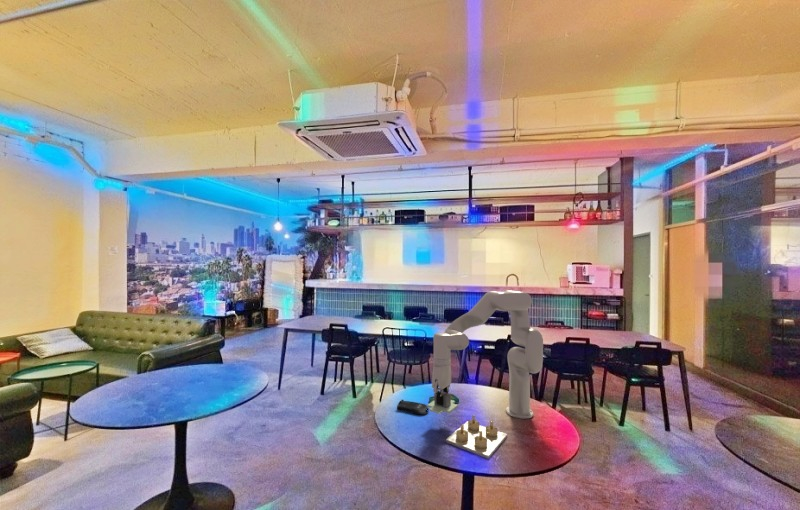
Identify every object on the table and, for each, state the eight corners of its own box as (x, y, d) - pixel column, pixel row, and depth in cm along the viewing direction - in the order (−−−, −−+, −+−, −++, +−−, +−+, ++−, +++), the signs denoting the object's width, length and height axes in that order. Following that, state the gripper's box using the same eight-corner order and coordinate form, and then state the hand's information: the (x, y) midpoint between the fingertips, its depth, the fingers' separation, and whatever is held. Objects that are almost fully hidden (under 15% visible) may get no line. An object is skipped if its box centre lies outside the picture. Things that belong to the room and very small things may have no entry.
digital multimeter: (427, 401, 172) (427, 396, 172) (452, 398, 178) (452, 392, 178) (434, 407, 166) (434, 401, 166) (459, 403, 171) (459, 397, 171)
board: (439, 398, 154) (439, 385, 155) (461, 404, 148) (460, 391, 148) (423, 409, 143) (423, 395, 143) (445, 416, 137) (445, 401, 137)
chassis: (467, 423, 148) (467, 408, 148) (507, 436, 137) (507, 420, 138) (445, 442, 132) (445, 425, 132) (488, 458, 121) (488, 440, 122)
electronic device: (396, 415, 159) (425, 416, 154) (395, 403, 160) (424, 403, 155) (402, 410, 168) (431, 410, 163) (402, 398, 169) (430, 399, 164)
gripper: (444, 355, 155) (444, 394, 155) (424, 364, 142) (425, 407, 141) (458, 358, 150) (458, 398, 150) (439, 367, 137) (440, 412, 137)
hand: (442, 402), depth 146 cm, fingers closed on board, 4 cm apart
